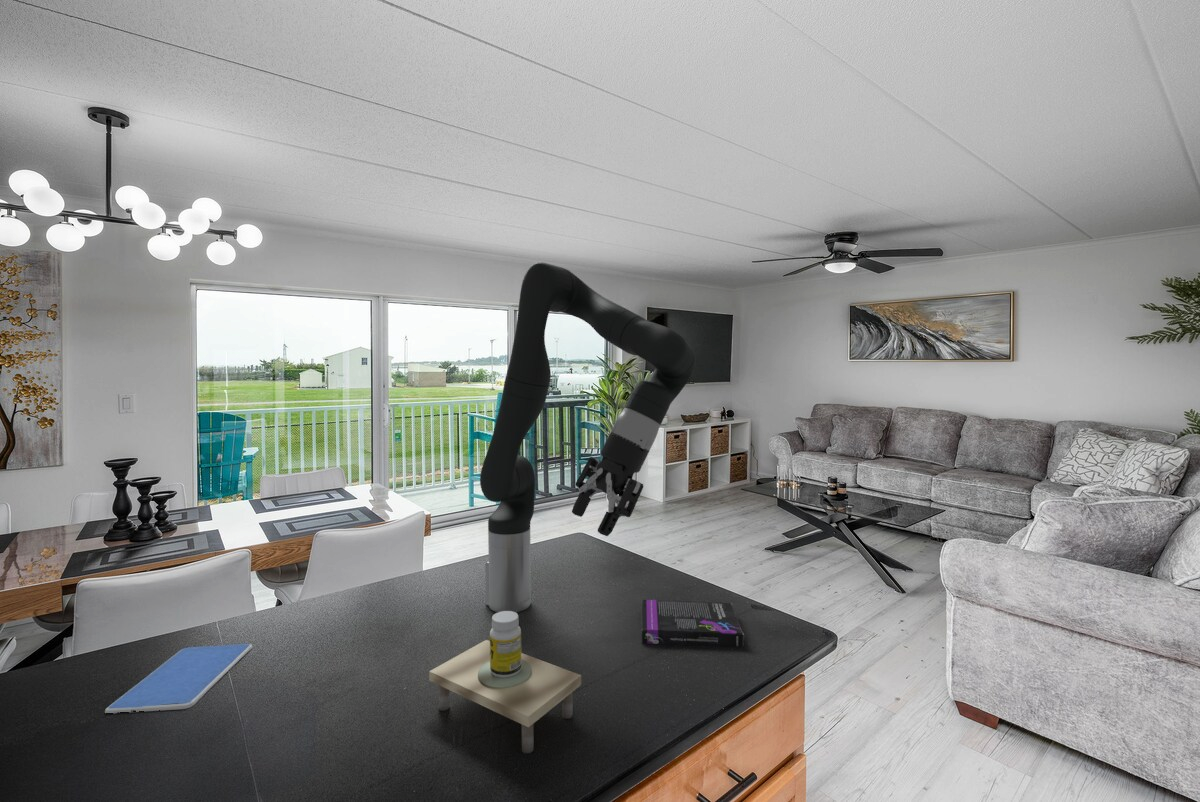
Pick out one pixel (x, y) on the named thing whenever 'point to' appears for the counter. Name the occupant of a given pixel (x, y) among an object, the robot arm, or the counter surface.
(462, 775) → the counter surface
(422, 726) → the counter surface
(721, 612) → the box
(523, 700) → the shelf stand
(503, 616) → the supplement bottle
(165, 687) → the tablet computer
